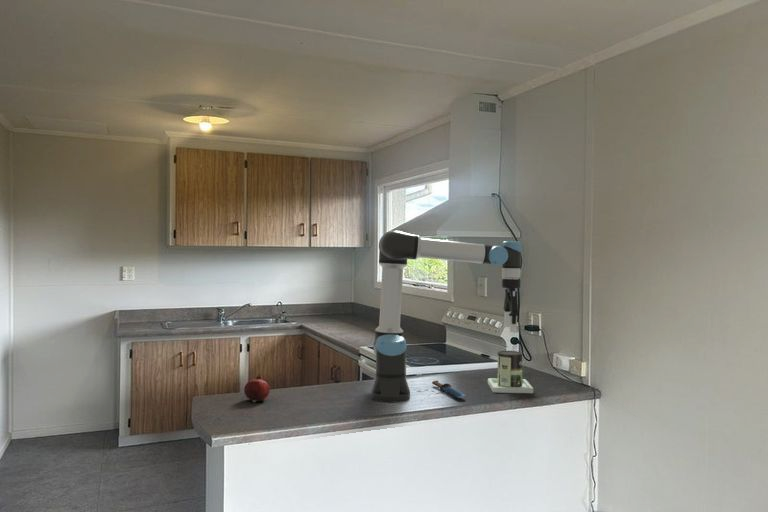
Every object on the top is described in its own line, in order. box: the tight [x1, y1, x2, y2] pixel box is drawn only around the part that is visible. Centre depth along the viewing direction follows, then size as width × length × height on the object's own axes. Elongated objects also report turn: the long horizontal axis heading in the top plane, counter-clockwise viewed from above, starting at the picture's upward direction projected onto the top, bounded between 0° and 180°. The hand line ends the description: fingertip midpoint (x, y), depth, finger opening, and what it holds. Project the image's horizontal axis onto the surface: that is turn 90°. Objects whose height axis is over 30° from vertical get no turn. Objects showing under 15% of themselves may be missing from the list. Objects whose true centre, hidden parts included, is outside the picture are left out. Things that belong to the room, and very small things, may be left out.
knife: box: [431, 380, 466, 399], centre depth 231 cm, size 24×3×5 cm
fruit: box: [243, 373, 270, 403], centre depth 217 cm, size 9×10×10 cm
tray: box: [487, 377, 534, 394], centre depth 240 cm, size 16×16×2 cm
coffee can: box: [497, 350, 524, 387], centre depth 240 cm, size 10×10×14 cm
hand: (510, 329), depth 240 cm, fingers open, 13 cm apart
